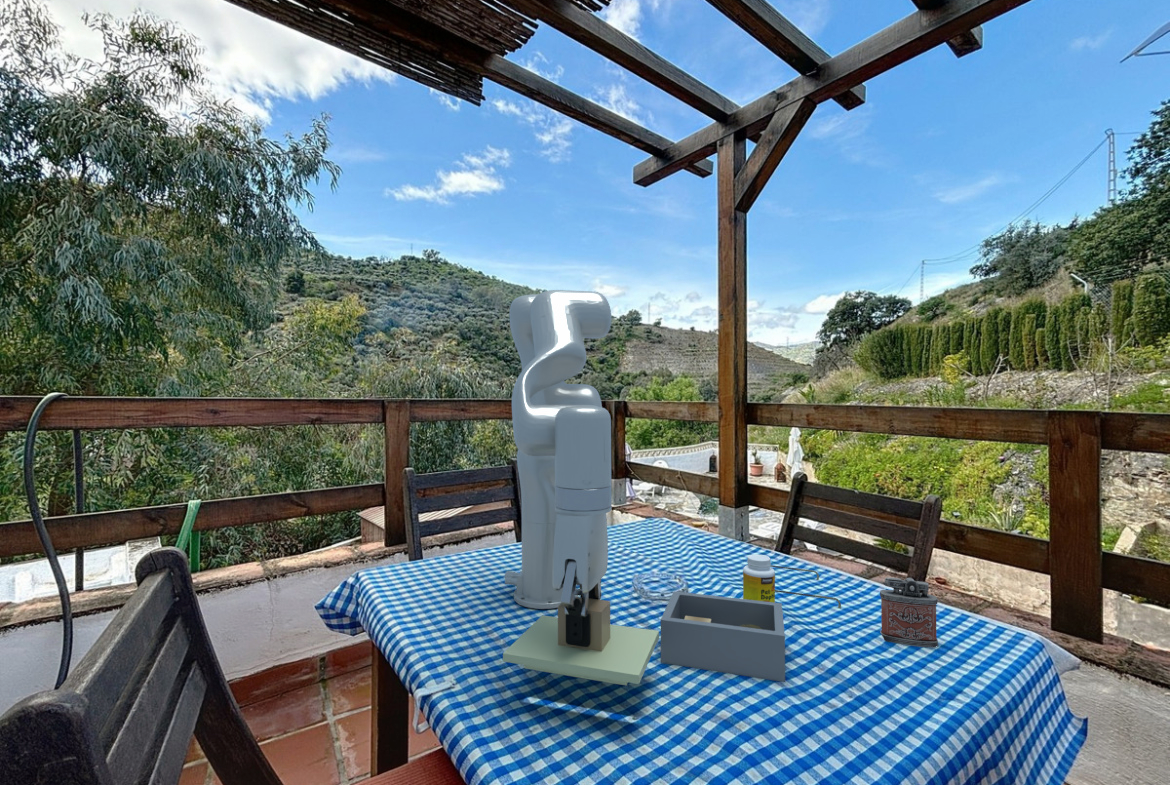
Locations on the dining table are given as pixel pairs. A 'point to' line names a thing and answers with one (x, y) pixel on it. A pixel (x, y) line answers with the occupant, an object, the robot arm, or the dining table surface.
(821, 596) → the eyeglasses
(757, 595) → the supplement bottle
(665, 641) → the tub
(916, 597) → the lighter
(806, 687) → the dining table surface
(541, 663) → the lid
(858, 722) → the dining table surface
